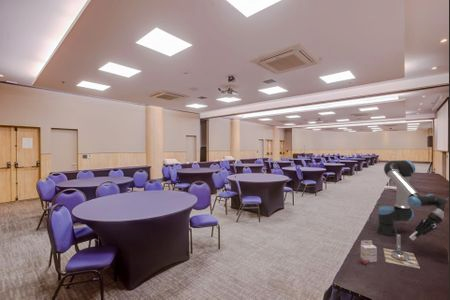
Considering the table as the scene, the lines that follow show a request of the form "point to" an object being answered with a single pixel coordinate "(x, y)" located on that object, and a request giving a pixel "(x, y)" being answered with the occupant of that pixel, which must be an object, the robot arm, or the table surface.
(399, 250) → the cam capstan
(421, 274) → the table surface
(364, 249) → the ink cartridge box
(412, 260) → the level stand
